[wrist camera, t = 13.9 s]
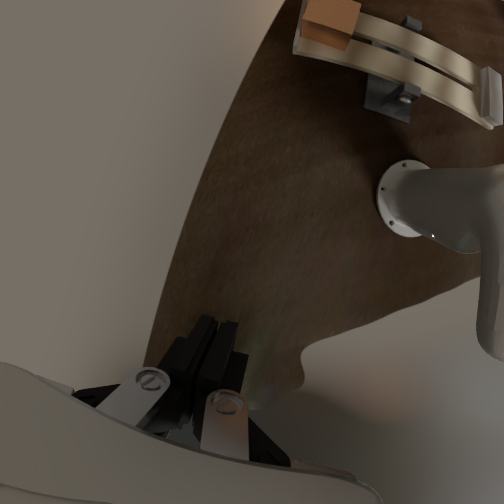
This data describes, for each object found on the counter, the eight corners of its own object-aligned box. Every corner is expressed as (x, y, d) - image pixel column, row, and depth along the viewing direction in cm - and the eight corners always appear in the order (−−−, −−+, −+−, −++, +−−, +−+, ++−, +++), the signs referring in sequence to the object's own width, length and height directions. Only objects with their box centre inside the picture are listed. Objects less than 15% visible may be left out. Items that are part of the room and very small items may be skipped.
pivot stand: (412, 48, 32) (437, 25, 22) (406, 124, 37) (436, 112, 26) (371, 32, 33) (389, 3, 23) (362, 108, 37) (383, 90, 27)
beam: (488, 78, 24) (500, 73, 21) (488, 129, 27) (502, 127, 24) (303, 3, 27) (304, -11, 23) (292, 53, 29) (293, 41, 26)
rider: (352, 24, 27) (361, 3, 21) (343, 54, 28) (352, 35, 22) (311, 11, 27) (314, -12, 21) (300, 40, 28) (302, 18, 23)
